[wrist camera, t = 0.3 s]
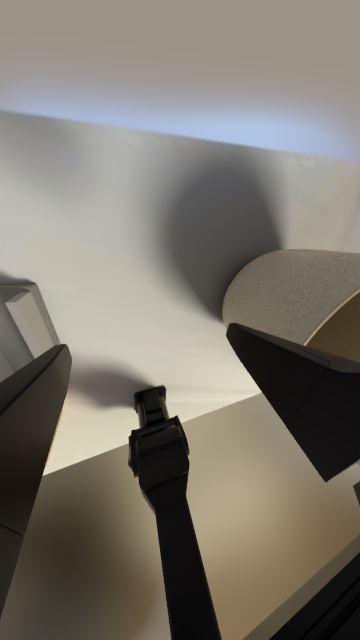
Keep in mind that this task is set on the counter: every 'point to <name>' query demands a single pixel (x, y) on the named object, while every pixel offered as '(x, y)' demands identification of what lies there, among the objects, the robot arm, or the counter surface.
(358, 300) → the planter
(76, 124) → the counter surface
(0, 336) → the dish rack
